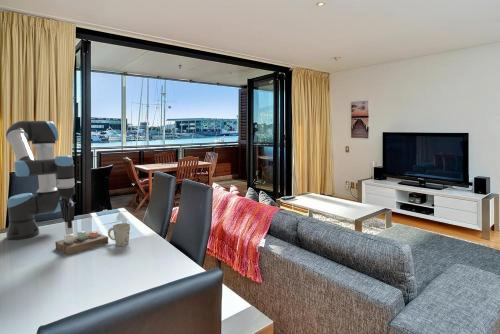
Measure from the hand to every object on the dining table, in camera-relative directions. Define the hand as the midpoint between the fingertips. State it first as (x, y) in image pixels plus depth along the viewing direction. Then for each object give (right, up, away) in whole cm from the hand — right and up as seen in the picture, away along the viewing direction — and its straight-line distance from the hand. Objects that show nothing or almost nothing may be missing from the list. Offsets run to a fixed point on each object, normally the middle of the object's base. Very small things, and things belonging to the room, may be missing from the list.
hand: (69, 233), depth 159 cm
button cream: (0, -5, +1) cm, 5 cm away
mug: (+21, -7, +9) cm, 24 cm away
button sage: (+4, -4, +5) cm, 8 cm away
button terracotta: (+7, -5, +10) cm, 14 cm away
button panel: (+4, -7, +6) cm, 10 cm away
